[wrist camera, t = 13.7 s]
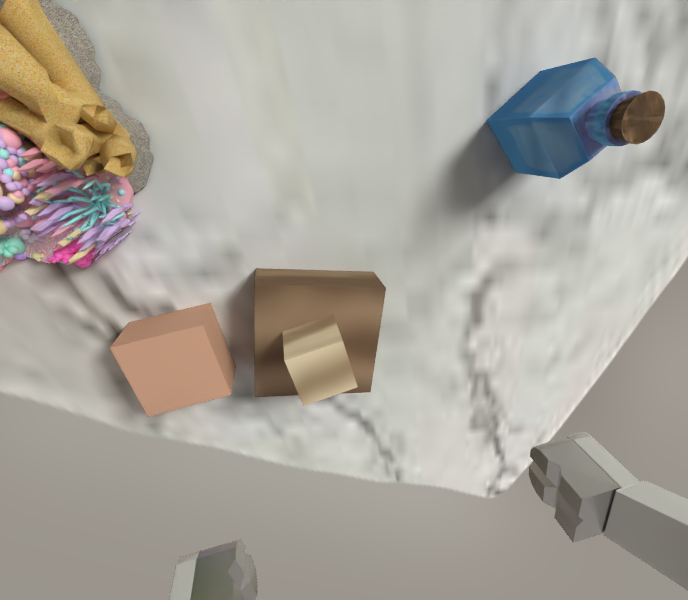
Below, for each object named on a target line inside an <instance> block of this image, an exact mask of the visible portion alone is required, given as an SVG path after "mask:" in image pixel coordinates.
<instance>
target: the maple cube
mask: <svg viewBox="0 0 688 600" xmlns="http://www.w3.org/2000/svg"><path fill="white" fill-rule="evenodd" d="M283 347H284V361H285V363H286V366H287V368H288V371H289V373H290V375H291V378H292V380H293V382H294V385H295V387H296V390H297V392H298V394H299V397H300V399H301V401H302V404H303V406H305V405H308V404H311V403H314V402H317V401H320V400H322V399H325V398H328V397H331V396H334V395H337V394H340V393H343V392H346V391H348V390H351V389H354V388H357V387H358V386H357V383H356V380H355V377H354V374H353V371H352V368H351V365H350V361H349V358H348V355H347V352H346V349H345V346H344V343H343V340H342V337H341V334H340V332H339V329H338V326H337V323H336V321H335V318H334V315H330V316H327V317H324V318H321V319H318V320H315V321H312V322H309V323H306V324H303V325H300V326H297V327H294V328H291V329H288V330H285V331H283Z"/></svg>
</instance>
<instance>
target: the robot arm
mask: <svg viewBox="0 0 688 600" xmlns="http://www.w3.org/2000/svg"><path fill="white" fill-rule="evenodd" d="M530 457H531V458H532V459H533V460H534V461H533V462H532V464H531V465H530V466H529V477H530V480H531V483H532V485H533V487H534V489H535V491H536V493H537V494H538V496H539V497H540V498H541V500H542V501H543V502H544V503H546V504H548V505H550V506H552V507H553V508H554V516H555V519H556V520H557V521H558V523H559V524H560V526H561V527H562V528H563V530H564V531H565V532H566V534H567V535H568V536H569V538H570V539H571V540H572V542H577V541H580V540H583V539H586V538H590V537H593V536H596V535H599V534H603V533H604V536H606V537H607V538H609V539H610V540H612V541H613V542H615V543H616V544H618V545H620V546H621V547H622V548H624V549H626V550H627V551H629V552H630V553H631V554H633V555H634V556H636V557H638V558H639V559H641V560H642V561H644V562H645V563H647V564H648V565H650V566H651V567H653V568H654V569H656V570H657V571H659V572H660V573H662V574H663V575H665V576H667V577H668V578H670V579H671V580H673V581H674V582H676V583H677V584H679V585H680V586H682V587H683V588H685V589H686V590H688V499H686V498H683V497H681V496H679V495H676V494H674V493H672V492H670V491H668V490H665V489H663V488H661V487H658V486H656V485H654V484H652V483H649V482H647V481H642V482H639V481H638V480H637V479H636V478H635V477H634V476H633V475H632V474H631V473H630V472H629V471H627V470H626V469H625V468H624V467H623V466H622V465H621V464H620V463H619V462H618V461H617V460H616V459H615V458H614V457H613V456H612V455H610V454H609V453H608V452H607V451H606V450H605V449H604V448H603V447H602V446H601V445H600V444H599V443H598V442H596V440H595V439H593V438H592V437H591V436H590V435H589V434H587V433H585V432H579V433H576V434H573V435H570V436H567V437H562V438H559V439H556V440H554V441H550V442H547V443H544V444H541V445H538V446H535V447H533V448H532V449H531V452H530ZM256 597H257V575H256V568H255V565H254V561H253V559H252V557H251V555H249V554H246V553H245V544H244V543H243V541H242V540H241V539H238V540H235V541H232V542H229V543H226V544H222V545H219V546H215V547H212V548H209V549H206V550H202V551H198V552H195V553H192V554H189V555H185V556H182V557H180V559H179V560H178V563H177V565H176V567H175V572H174V577H173V582H172V587H171V591H170V596H169V600H255V599H256Z"/></svg>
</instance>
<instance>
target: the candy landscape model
mask: <svg viewBox="0 0 688 600" xmlns="http://www.w3.org/2000/svg"><path fill="white" fill-rule="evenodd" d="M94 56H95V50H94V46H93V45H92V43H91V42H90V41H89V39H88V37H87V35H86V33H85V31H84V30H83V28H82V27H81V25H80V23H79V21H78V19H77V18H76V17H75V16H74V15H73V14H72V13H70V12H69V11H67V10H65V9H63V8H61V7H59V6H57V5H56V4H54V3H53V2H52V0H0V271H2V270H3V268H5V267H4V265H5V264H8V263H9V262H11V261H12V260H13V258H15V259H17V260H25V259H26V258H27V257H29V258H32V259H35V260H36V261H38V262H40V261H42V262H45V263H48V264H50V262H52V263H56V262H59V263H62V264H63V263H64V264H66V265H69V264H72V263H75V264H76V265H77V266H78V267H81V268H86V267H89V266H90V265H91V263H92V259H93V258H94V257H95V256H96V254H97V253H98V252H99V251H100V250H101V249H102V250H101V252H100V253H99V254H100V255H99V256H97V257H96V258H95V261H96V260H97V259H98V258H99V257H100V256H102V255H103V254H104V253H106V252H107V251H106V250H107V249H108V248H109V249H108V250H110V249H112V248H113V247H114V246H116V245H117V244H118V243H119V242H120V241H122V240H123V239H124V238H125V237H126V236H127V235H128V234H129V233H131V232H132V231H129V232H128V233H126V234H125V235H124V236H121V237H120V238H118V239H117V240H116V241H115V242H114V241H111V242H109V243H107V244H104V243H105V242H106V241H107V240H109V239H110V238H112V237H113V236H115V235H116V234H117V233H119V232H121V231H122V229H121V228H125V227H126V226H128V225H129V226H131V225H132V224H134V223H135V222H137V220H134V221H132V222H131V223H130V220H129V219H127V216H126V211H127V210H129V209H130V207H133V203H132V200H133V195H134V192H138V191H139V190H140V189H141V188H143V187H144V186H145V185H146V183H147V180H148V177H149V173H150V170H151V166H152V163H153V155H152V153H151V152H150V150H149V141H150V139H149V136H148V134H147V133H146V131H145V129H144V127H143V125H142V124H141V123H140V122H138V121H137V120H135V119H133V118H131V117H129V116H127V115H125V114H124V112H123V110H122V108H121V106H120V105H119V104H118V103H117V102H116V101H114V100H112V99H110V98H108V97H106V96H104V95H102V94H101V93H100V91H99V83H100V77H101V72H100V69H99V67H98V66H97V64H96V62H95V59H94ZM131 213H132V212H129V213H128V214H127V215H130V214H131ZM139 213H140V211H138V212H136V213H135V214H133V215H132V217H134V216H136V215H137V214H139Z"/></svg>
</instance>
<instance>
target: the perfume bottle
mask: <svg viewBox="0 0 688 600" xmlns="http://www.w3.org/2000/svg"><path fill="white" fill-rule="evenodd" d="M664 113H665V103H664V99H663V98H662V96H661V95H660V94H659V93H658V92H656V91H647V92H644V93H642V92H640V91H626V92H621V89H620V86H619V84H618V81H617V78H616V76H615V75H614V74H613V73H612V72H610V71H609V70H608V69H607V68H606V67H605V66H604V65H603V64H602V63H601V62H600V61H598V60H597V59H596V58H591V59H587V60H583V61H579V62H575V63H571V64H567V65H563V66H559V67H555V68H551V69H547V70H543V71H540V72H539V73H538V74H537V75H536V76H535V77H533V78H532V79H531V80H530V81H529V82H528V83H527V84H526V85H525V86H524V87H522V88H521V89H520V90H519V91H518V92H517V93H516V94H515V95H514V96H513V97H512V98H510V99H509V100H508V101H507V102H506V103H505V104H504V105H503V106H502V107H501V108H500V109H498V110H497V111H496V112H495V113H494V114H493V115H492V116H491V117H490V118H489V119H488V120H486V121H487V123H488V124H489V126H490V128H491V130H492V131H493V133H494V135H495V137H496V138H497V140H498V142H499V144H500V146H501V147H502V149H503V151H504V153H505V154H506V156H507V158H508V160H509V161H510V163H511V165H512V167H513V168H514V170H515V172H516V173H523V174H530V175H537V176H544V177H551V178H558V179H560V178H562V177H564V176H565V175H567V174H569V173H570V172H572V171H573V170H575V169H577V168H578V167H580V166H582V165H583V164H585V163H587V162H588V161H590V160H591V159H592V158H593V157H594V156H596V155H597V154H598V153H599V152H600V151H601V150H603V149H604V148H605V147H606V146H623V145H626V144H629V143H631V144H640V143H643V142H645V141H646V140H648V139H650V138H651V137H652V136H653V135H654V134H655V133H656V131H657V130H658V128H659V127H660V125H661V123H662V120H663V118H664Z"/></svg>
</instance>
